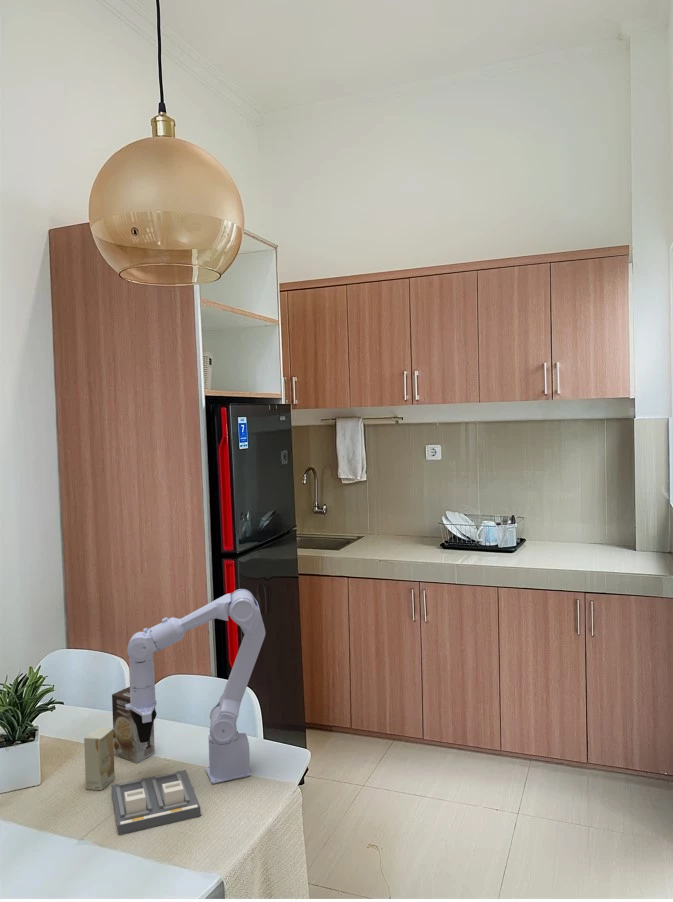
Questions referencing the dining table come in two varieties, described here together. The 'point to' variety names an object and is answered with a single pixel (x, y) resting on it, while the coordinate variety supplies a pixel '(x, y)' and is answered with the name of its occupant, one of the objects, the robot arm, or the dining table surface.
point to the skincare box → (99, 758)
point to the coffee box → (128, 731)
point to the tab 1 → (135, 801)
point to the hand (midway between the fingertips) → (144, 741)
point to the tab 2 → (173, 793)
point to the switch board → (154, 803)
